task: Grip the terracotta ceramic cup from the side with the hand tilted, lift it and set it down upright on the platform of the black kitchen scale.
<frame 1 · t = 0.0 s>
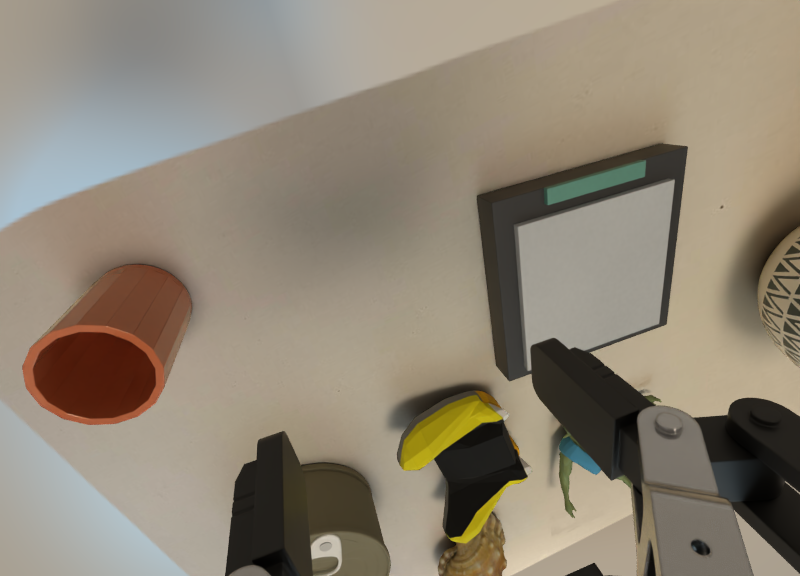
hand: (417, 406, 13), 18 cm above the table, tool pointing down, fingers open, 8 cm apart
cup: (143, 305, 27), on the table
scale: (573, 262, 35), on the table
figurine: (596, 437, 46), on the table
planter: (785, 262, 43), on the table
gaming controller: (454, 437, 40), on the table
seashell: (466, 543, 48), on the table
can: (310, 507, 39), on the table
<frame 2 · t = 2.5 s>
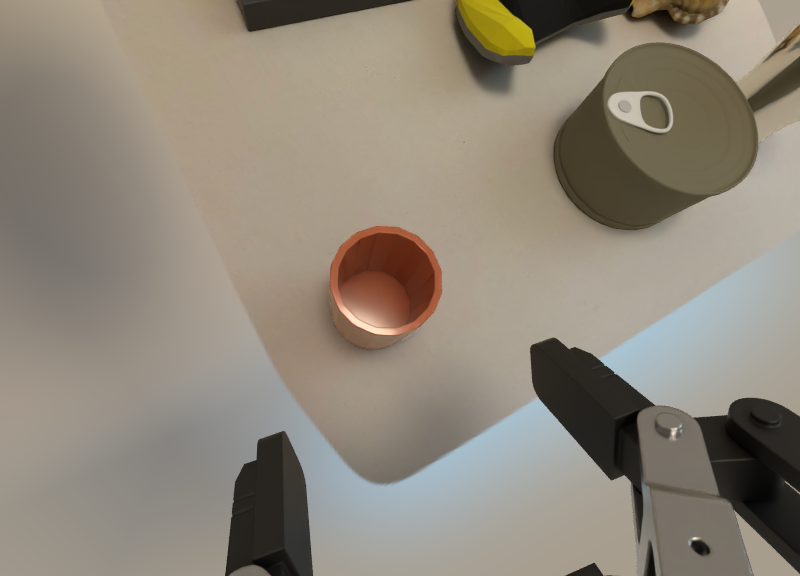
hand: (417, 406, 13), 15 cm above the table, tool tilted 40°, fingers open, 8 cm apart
cup: (372, 307, 29), on the table
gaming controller: (521, 29, 37), on the table
seashell: (670, 4, 41), on the table
can: (615, 167, 35), on the table
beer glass: (718, 132, 38), on the table
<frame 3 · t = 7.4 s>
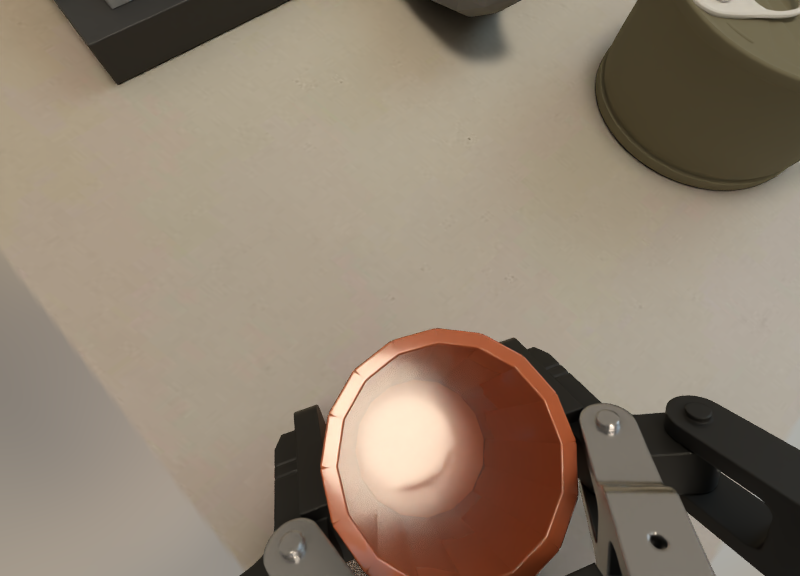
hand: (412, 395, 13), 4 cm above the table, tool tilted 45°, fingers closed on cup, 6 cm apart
cup: (418, 444, 17), on the table, touching gripper
can: (692, 105, 24), on the table
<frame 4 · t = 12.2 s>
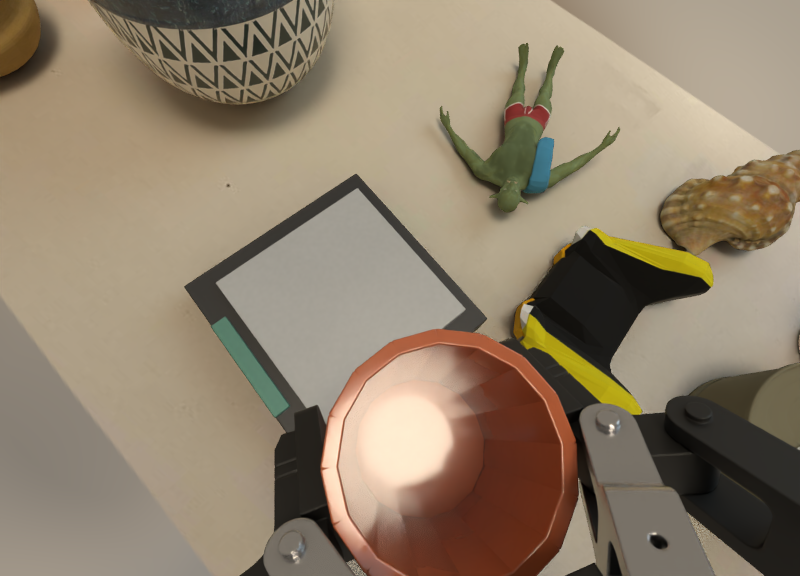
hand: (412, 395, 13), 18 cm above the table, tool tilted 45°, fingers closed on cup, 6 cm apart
cup: (418, 444, 17), point 14 cm above the table, touching gripper
scale: (339, 311, 33), on the table
figurine: (515, 142, 39), on the table
planter: (251, 71, 40), on the table
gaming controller: (583, 320, 34), on the table
seashell: (715, 215, 38), on the table
can: (748, 456, 31), on the table
pot: (0, 54, 40), on the table
when the fingers open (7 cm above the table, at t = 17.1 s): cup stays where it is, resting on scale.
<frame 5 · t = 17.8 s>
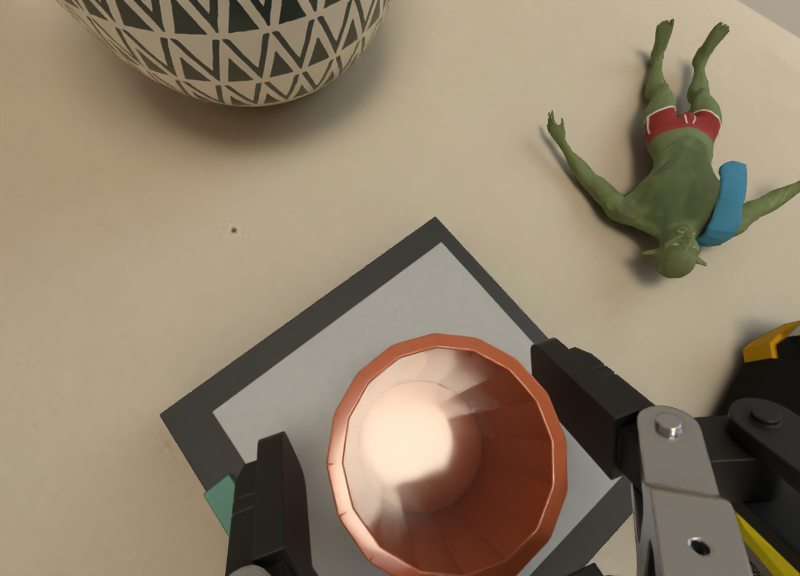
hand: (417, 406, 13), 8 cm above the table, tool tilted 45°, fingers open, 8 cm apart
cup: (419, 442, 17), point 3 cm above the table, touching scale
scale: (412, 441, 20), on the table
figurine: (655, 164, 27), on the table
planter: (268, 59, 28), on the table
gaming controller: (797, 454, 21), on the table
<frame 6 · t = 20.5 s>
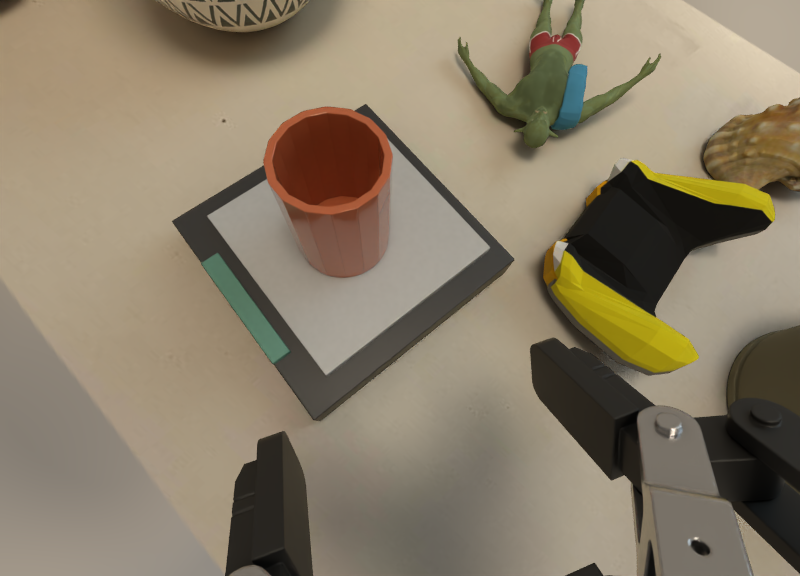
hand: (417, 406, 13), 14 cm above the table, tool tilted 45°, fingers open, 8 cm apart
cup: (343, 235, 26), point 3 cm above the table, touching scale
scale: (346, 254, 29), on the table
figurine: (540, 79, 36), on the table
planter: (251, 3, 37), on the table
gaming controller: (620, 268, 30), on the table
seashell: (764, 158, 34), on the table
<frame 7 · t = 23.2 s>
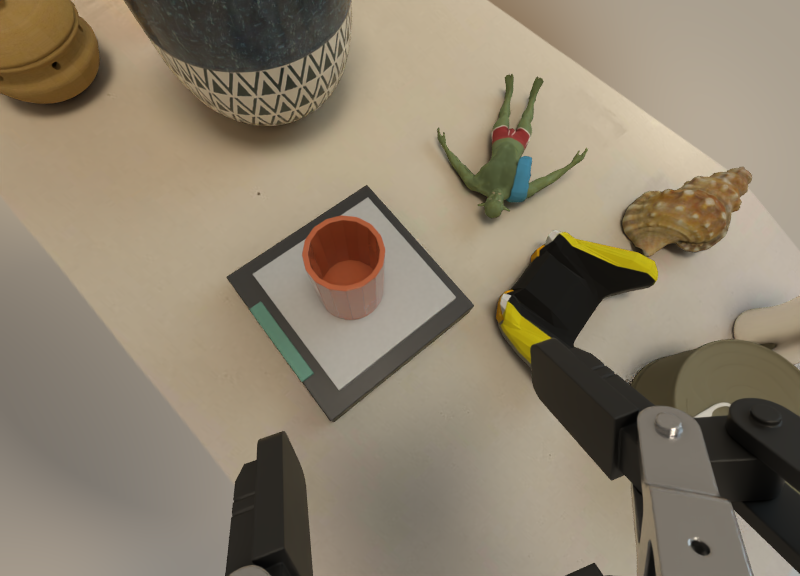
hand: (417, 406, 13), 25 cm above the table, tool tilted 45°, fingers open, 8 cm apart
cup: (351, 288, 37), point 3 cm above the table, touching scale
scale: (352, 299, 40), on the table
figurine: (501, 158, 46), on the table
planter: (277, 95, 47), on the table
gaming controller: (555, 309, 40), on the table
seashell: (669, 222, 44), on the table
can: (687, 420, 38), on the table
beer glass: (761, 339, 40), on the table
pot: (63, 80, 47), on the table
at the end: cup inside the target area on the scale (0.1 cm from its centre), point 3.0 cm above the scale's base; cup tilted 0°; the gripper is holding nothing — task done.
